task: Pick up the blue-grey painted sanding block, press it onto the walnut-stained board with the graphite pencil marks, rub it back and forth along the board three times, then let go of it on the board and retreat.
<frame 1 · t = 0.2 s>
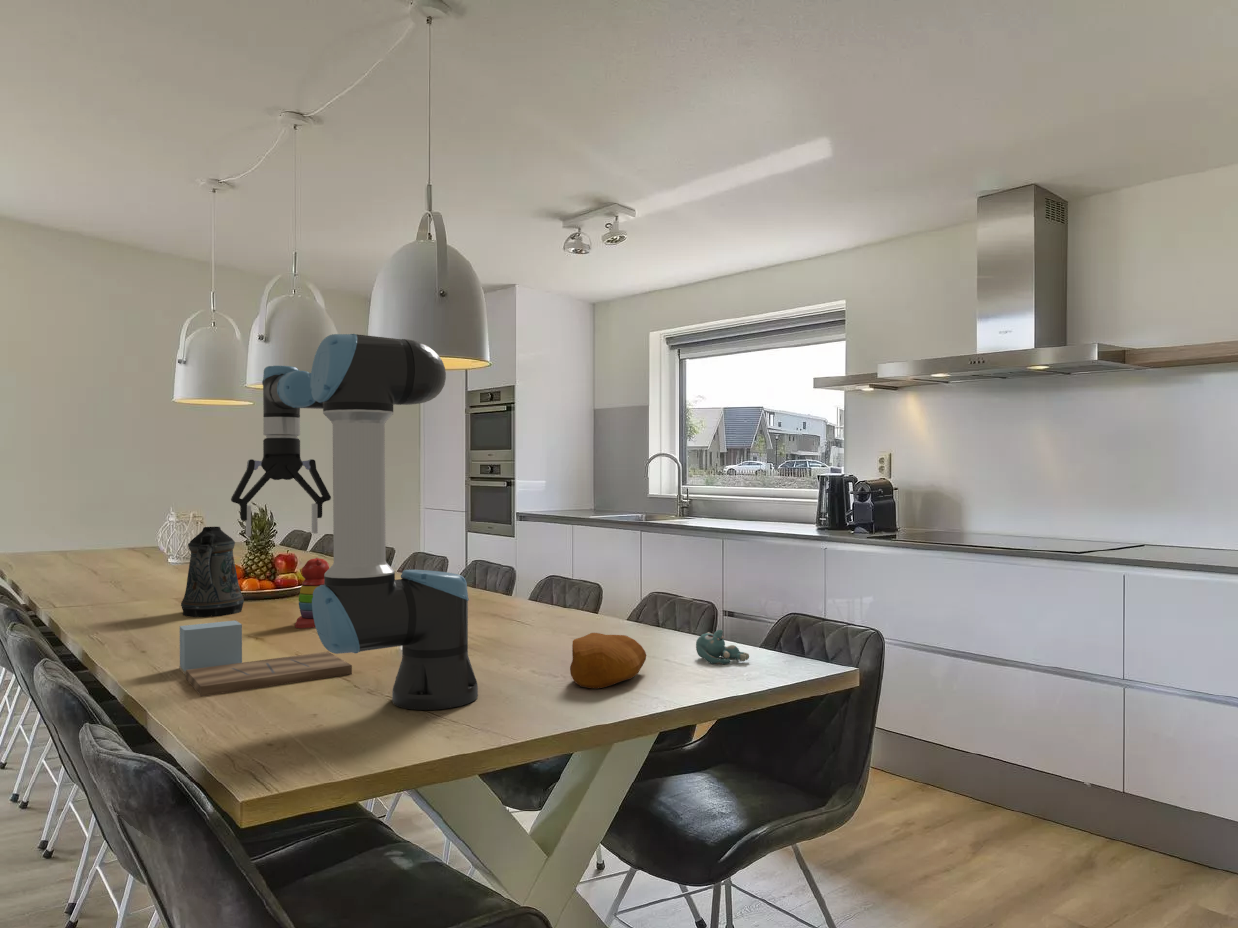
hand: (282, 534, 187), 27 cm above the table, fingers open, 13 cm apart
board: (269, 676, 173), on the table
beer stein: (214, 613, 249), on the table
stuffed animal: (721, 661, 185), on the table
bread: (610, 681, 169), on the table
stacking bear: (315, 624, 230), on the table
sanding block: (211, 667, 181), on the table
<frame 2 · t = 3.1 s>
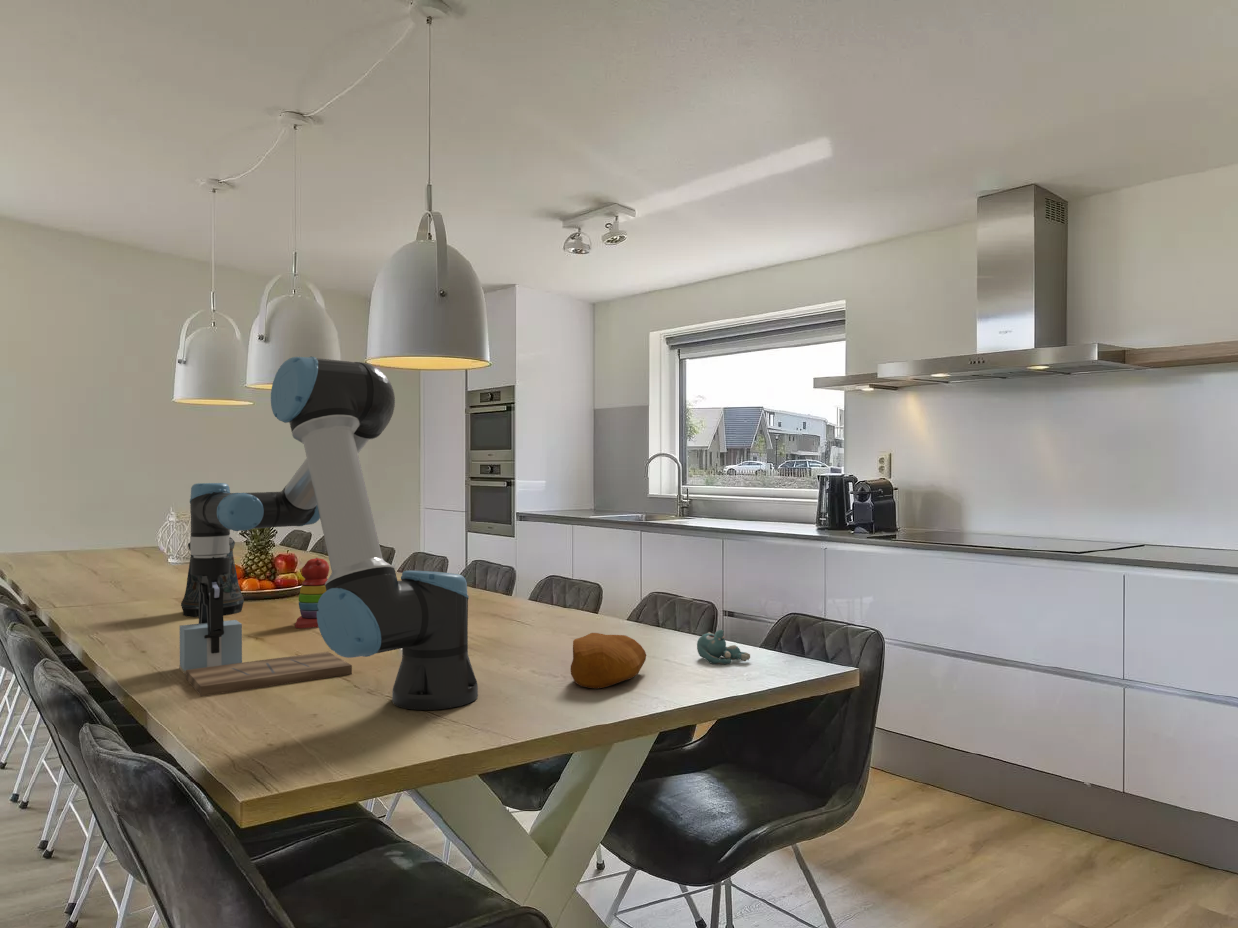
hand: (210, 664, 181), 0 cm above the table, fingers closed on sanding block, 6 cm apart
sanding block: (211, 667, 181), on the table, touching gripper
everything else where it was.
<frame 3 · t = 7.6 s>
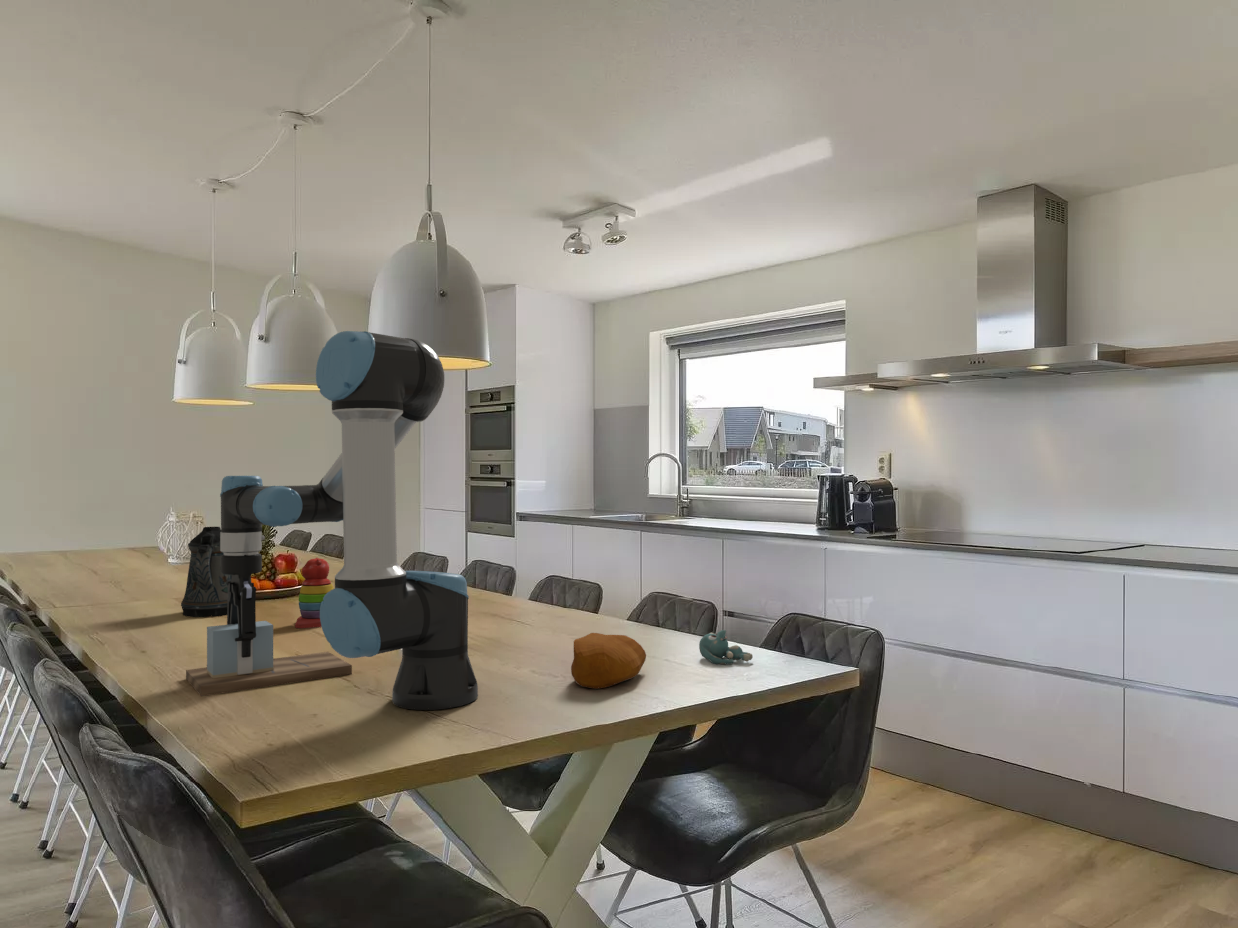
hand: (240, 669, 170), 2 cm above the table, fingers closed on sanding block, 6 cm apart
sanding block: (240, 671, 169), point 2 cm above the table, touching gripper
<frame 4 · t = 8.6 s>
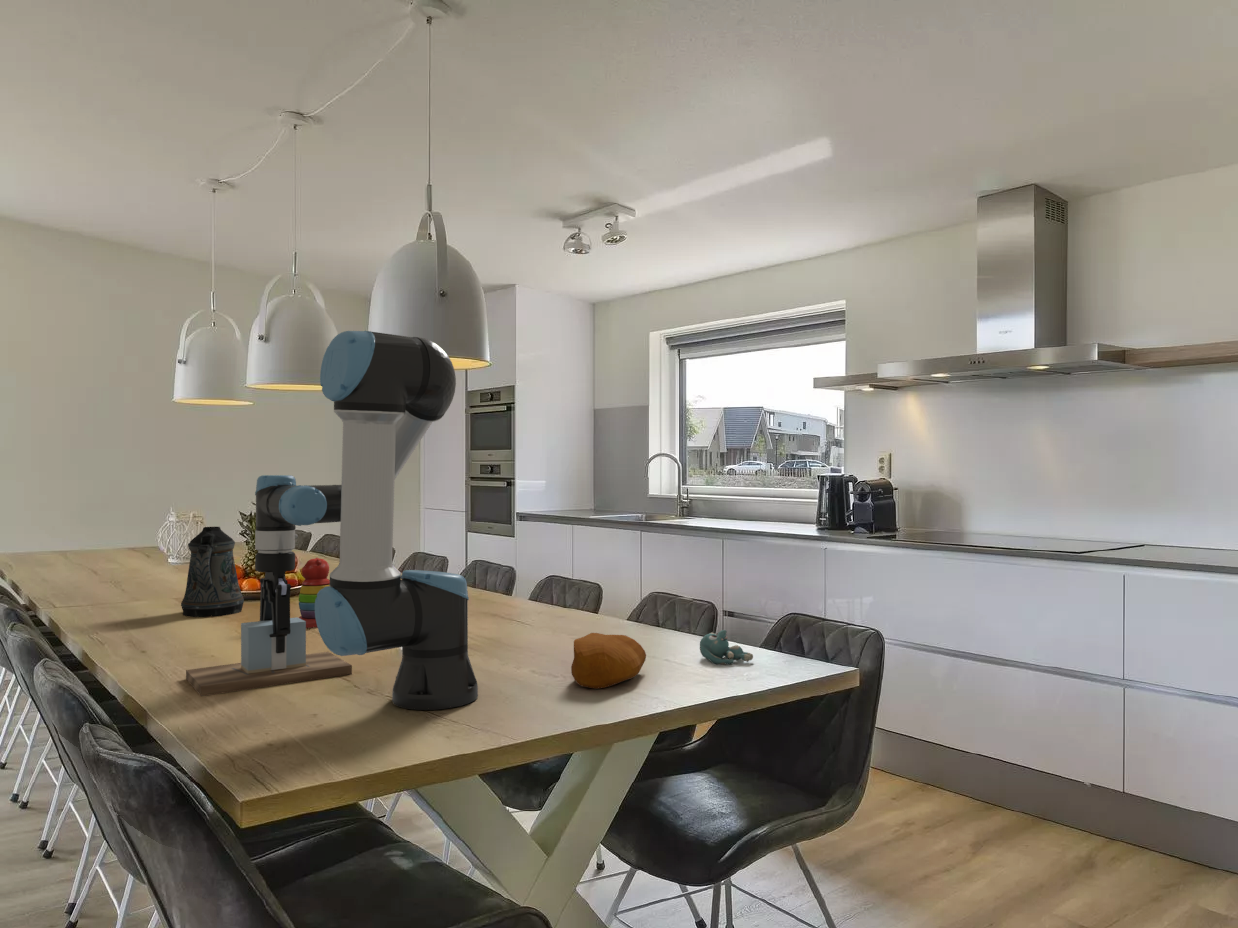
hand: (274, 665, 173), 2 cm above the table, fingers closed on sanding block, 6 cm apart
sanding block: (273, 666, 173), point 2 cm above the table, touching gripper
everything else where it was.
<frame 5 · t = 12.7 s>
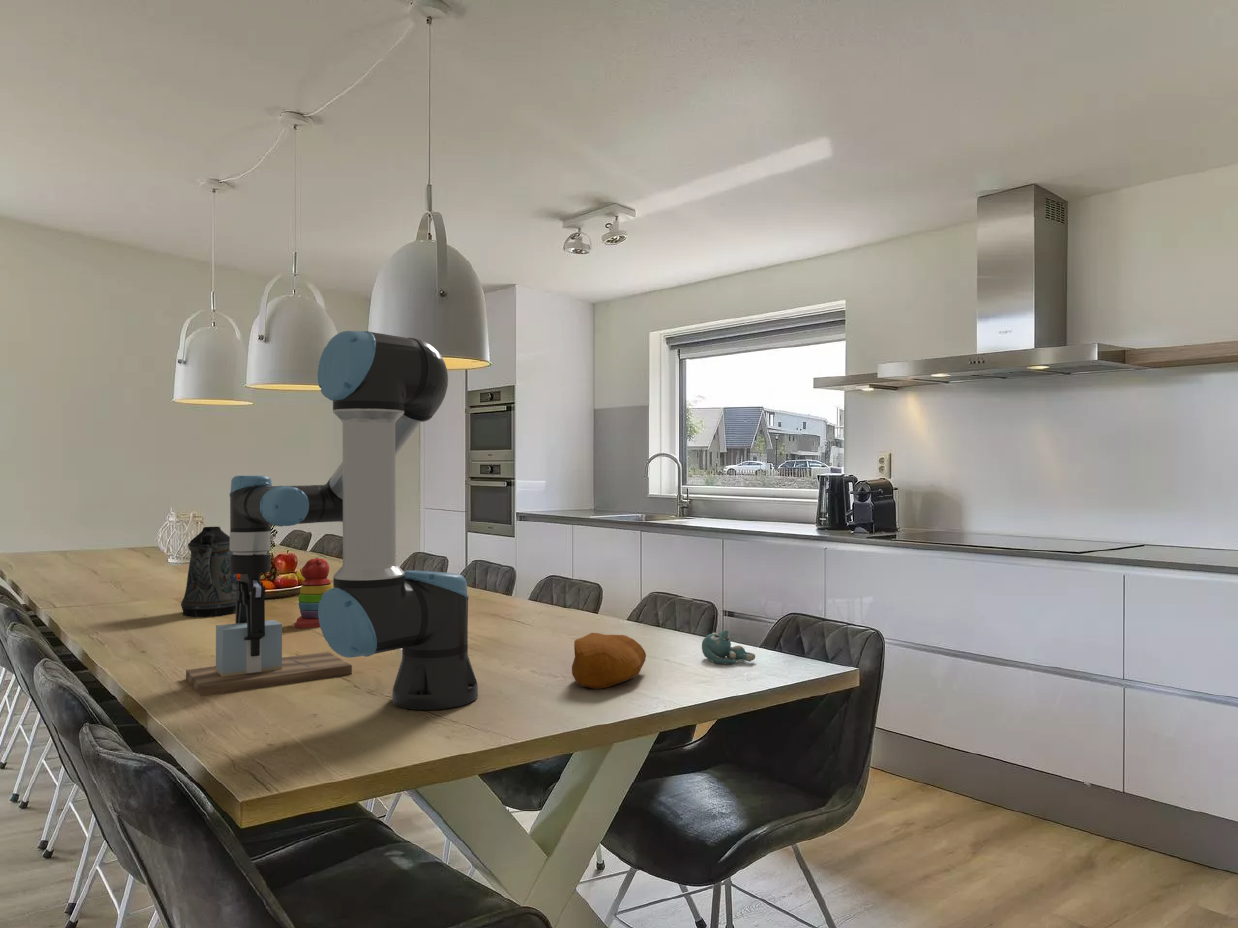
hand: (249, 668, 170), 2 cm above the table, fingers closed on sanding block, 6 cm apart
sanding block: (248, 669, 170), point 2 cm above the table, touching gripper
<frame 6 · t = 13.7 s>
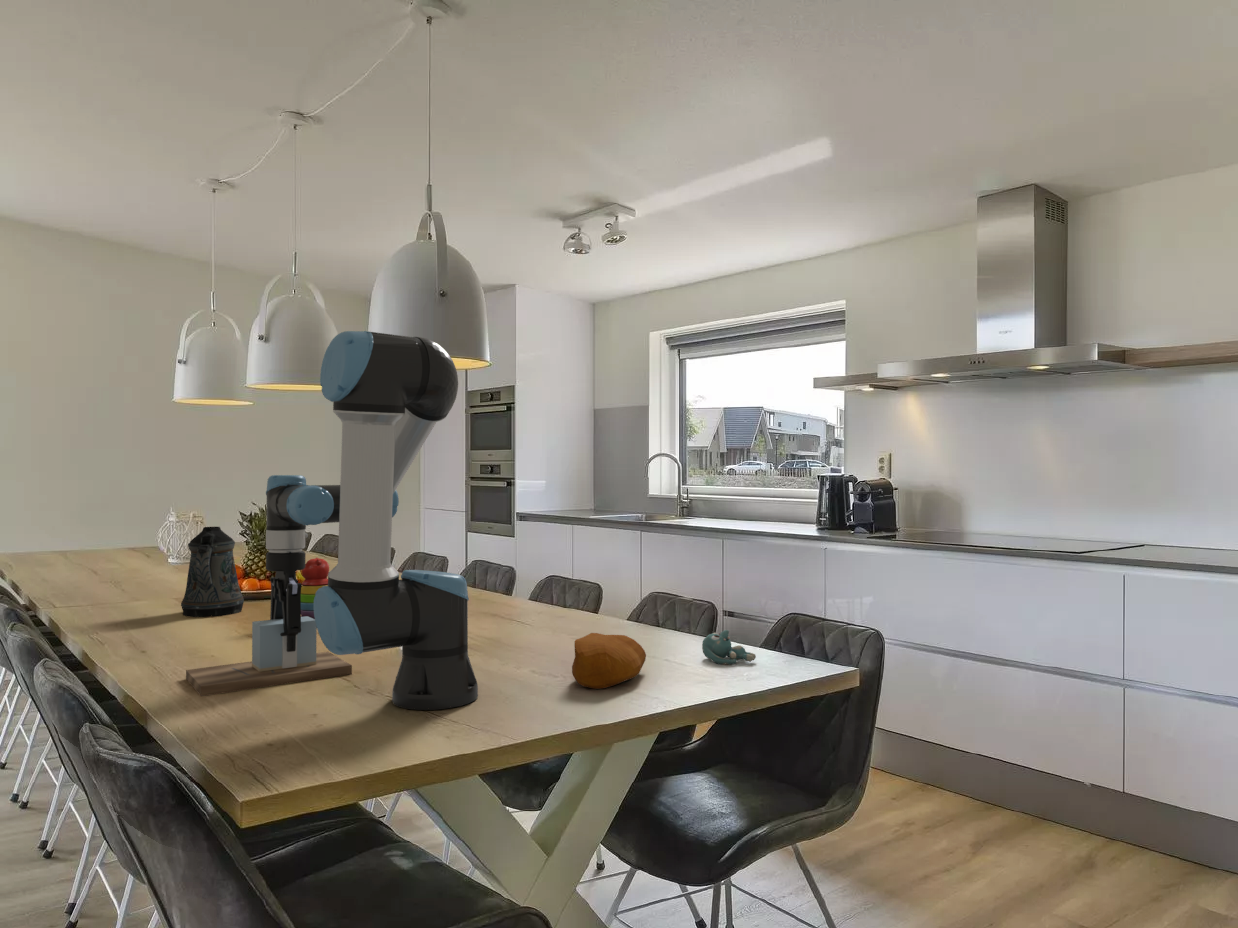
hand: (284, 663, 174), 2 cm above the table, fingers closed on sanding block, 6 cm apart
sanding block: (284, 665, 174), point 2 cm above the table, touching gripper
when the fingers open (3 cm above the table, at t = 15.1 s): sanding block stays where it is, resting on board.
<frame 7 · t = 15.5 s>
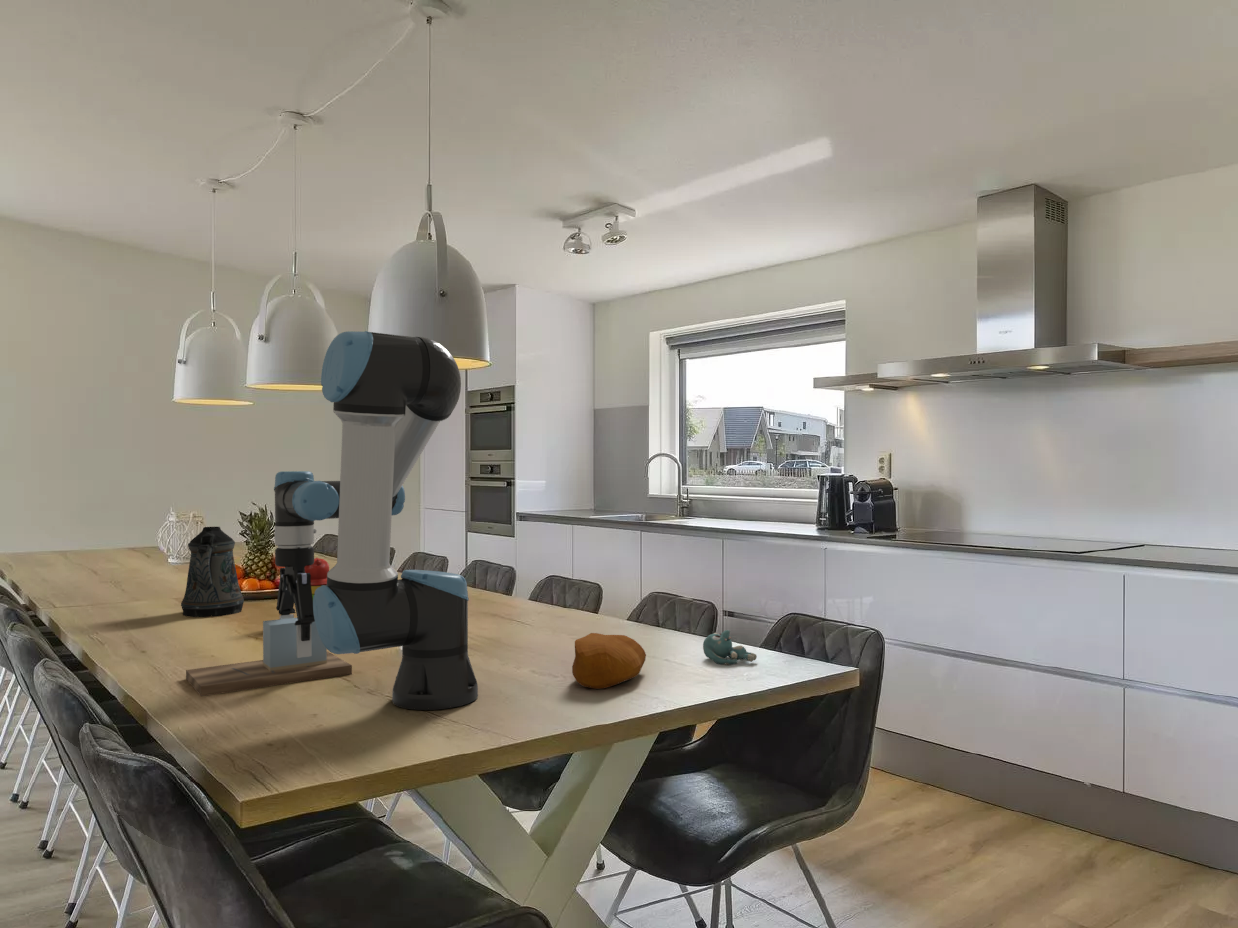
hand: (295, 651, 176), 4 cm above the table, fingers open, 12 cm apart
sanding block: (295, 664, 176), point 2 cm above the table, touching board
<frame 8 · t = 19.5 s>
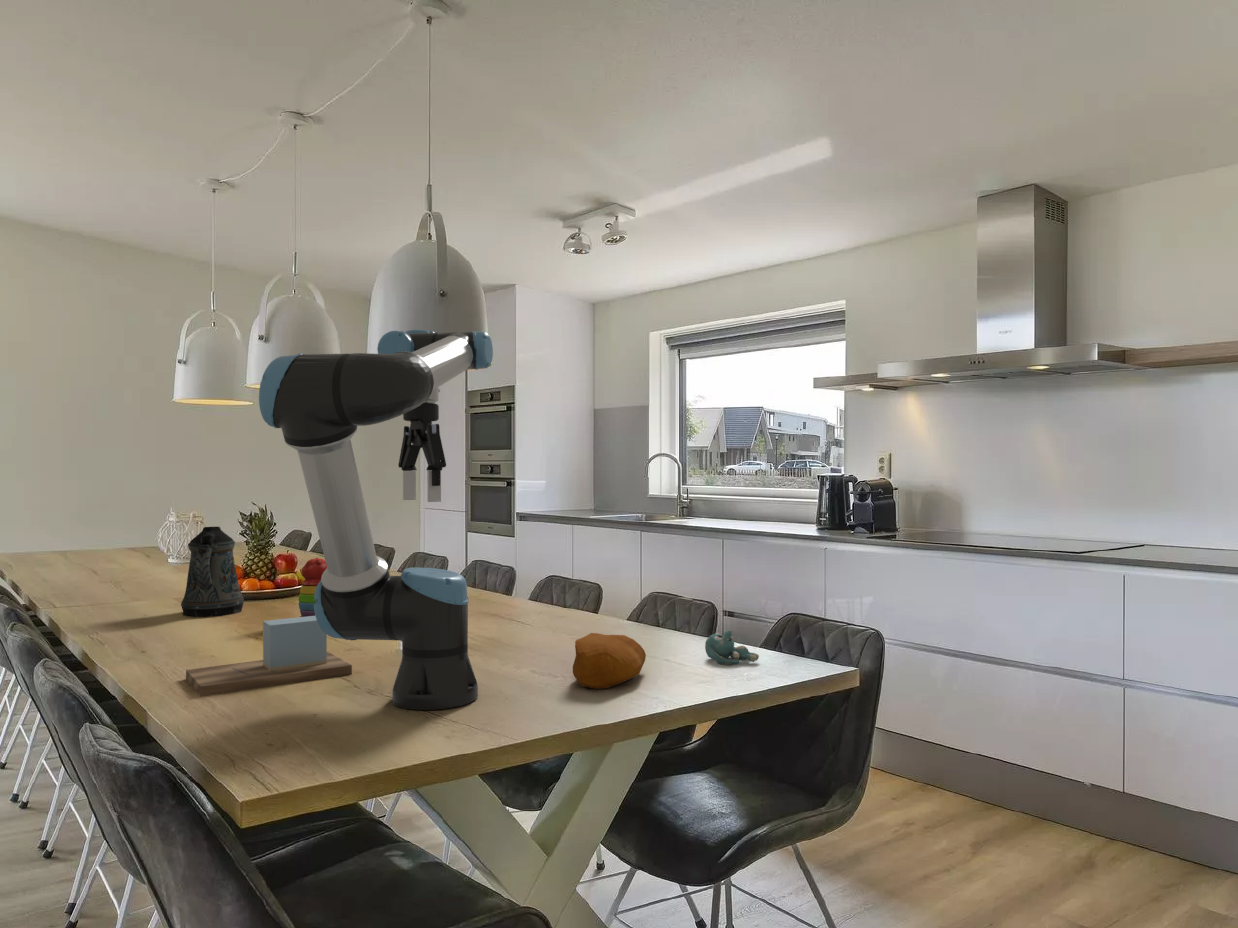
hand: (421, 501, 185), 35 cm above the table, fingers open, 13 cm apart
at the end: sanding block inside the target area on the board (4.9 cm from its centre), point 1.8 cm above the board's base; the gripper is holding nothing; sanding block moved 20.7 cm from its start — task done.
